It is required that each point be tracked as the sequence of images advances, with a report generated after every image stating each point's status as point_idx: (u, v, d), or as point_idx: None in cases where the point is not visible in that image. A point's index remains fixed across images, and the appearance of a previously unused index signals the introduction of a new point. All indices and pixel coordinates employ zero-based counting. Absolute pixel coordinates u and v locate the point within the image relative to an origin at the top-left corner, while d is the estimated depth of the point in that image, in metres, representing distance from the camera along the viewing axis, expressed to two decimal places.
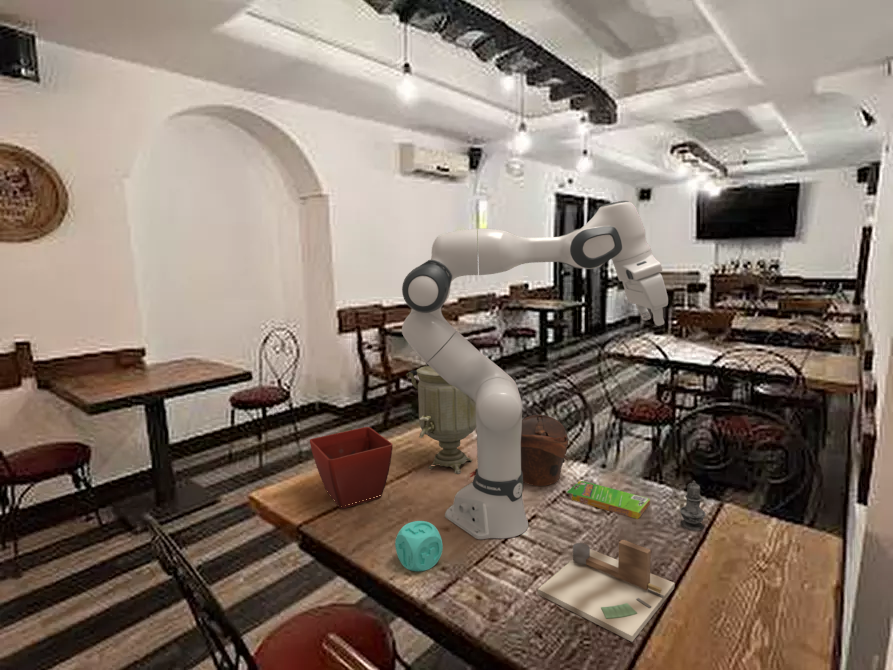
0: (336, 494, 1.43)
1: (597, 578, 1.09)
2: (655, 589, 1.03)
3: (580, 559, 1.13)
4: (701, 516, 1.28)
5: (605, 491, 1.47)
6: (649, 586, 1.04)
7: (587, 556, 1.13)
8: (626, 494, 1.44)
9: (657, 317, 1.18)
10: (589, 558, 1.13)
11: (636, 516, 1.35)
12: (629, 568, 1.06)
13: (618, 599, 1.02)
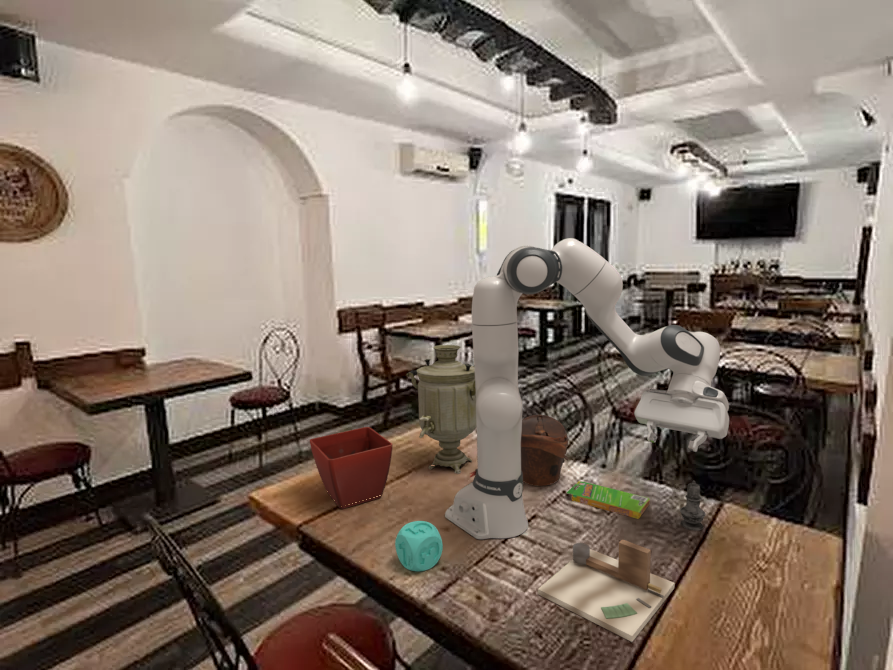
0: (336, 494, 1.43)
1: (597, 578, 1.09)
2: (655, 589, 1.03)
3: (580, 559, 1.13)
4: (701, 516, 1.28)
5: (605, 491, 1.47)
6: (649, 586, 1.04)
7: (587, 556, 1.13)
8: (626, 494, 1.44)
9: (698, 442, 1.15)
10: (589, 558, 1.13)
11: (637, 516, 1.35)
12: (629, 568, 1.06)
13: (618, 599, 1.02)
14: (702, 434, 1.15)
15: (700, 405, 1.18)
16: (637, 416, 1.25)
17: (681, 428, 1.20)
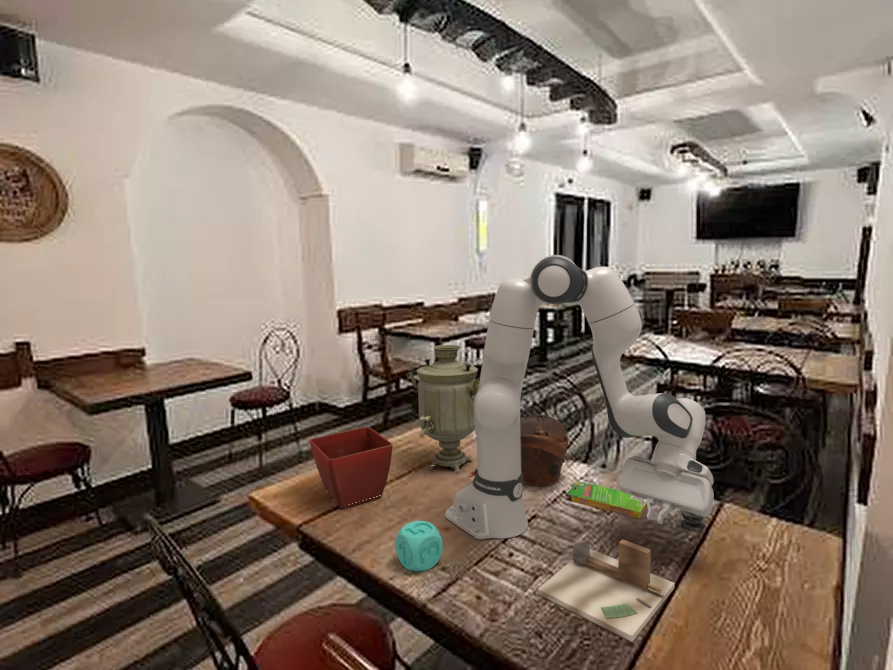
0: (336, 494, 1.43)
1: (597, 578, 1.09)
2: (655, 589, 1.03)
3: (580, 559, 1.13)
4: (701, 516, 1.28)
5: (605, 491, 1.46)
6: (649, 586, 1.04)
7: (587, 556, 1.13)
8: (625, 494, 1.44)
9: (663, 514, 1.14)
10: (589, 558, 1.13)
11: (637, 516, 1.35)
12: (629, 568, 1.06)
13: (618, 599, 1.02)
14: (667, 506, 1.14)
15: (684, 479, 1.14)
16: (620, 486, 1.21)
17: None
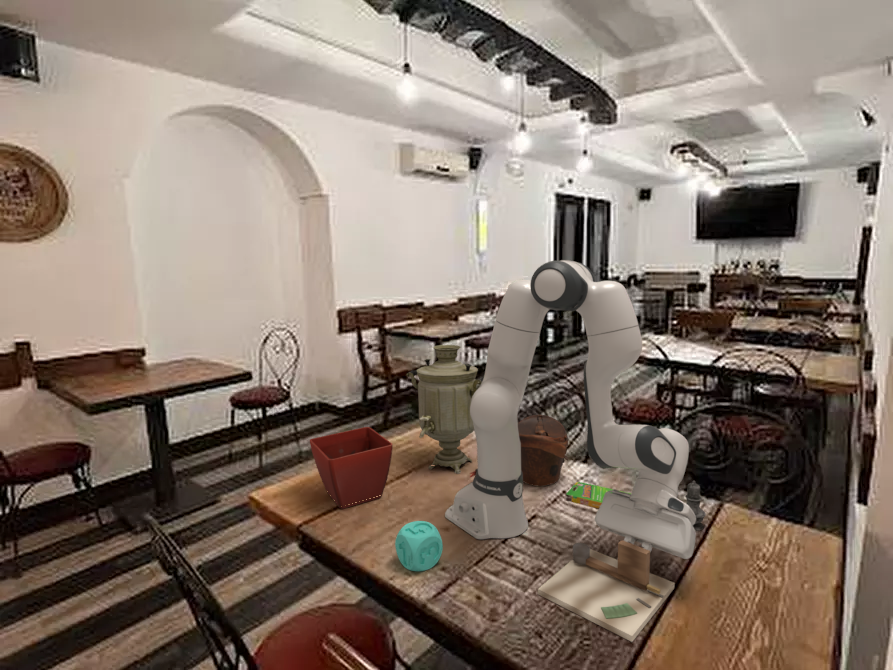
0: (336, 494, 1.43)
1: (597, 578, 1.09)
2: (654, 590, 1.03)
3: (580, 559, 1.13)
4: (701, 516, 1.28)
5: (604, 491, 1.46)
6: (648, 587, 1.04)
7: (587, 556, 1.13)
8: None
9: None
10: (589, 558, 1.13)
11: None
12: (628, 568, 1.06)
13: (618, 599, 1.02)
14: (646, 547, 1.07)
15: (664, 518, 1.07)
16: (597, 523, 1.14)
17: None
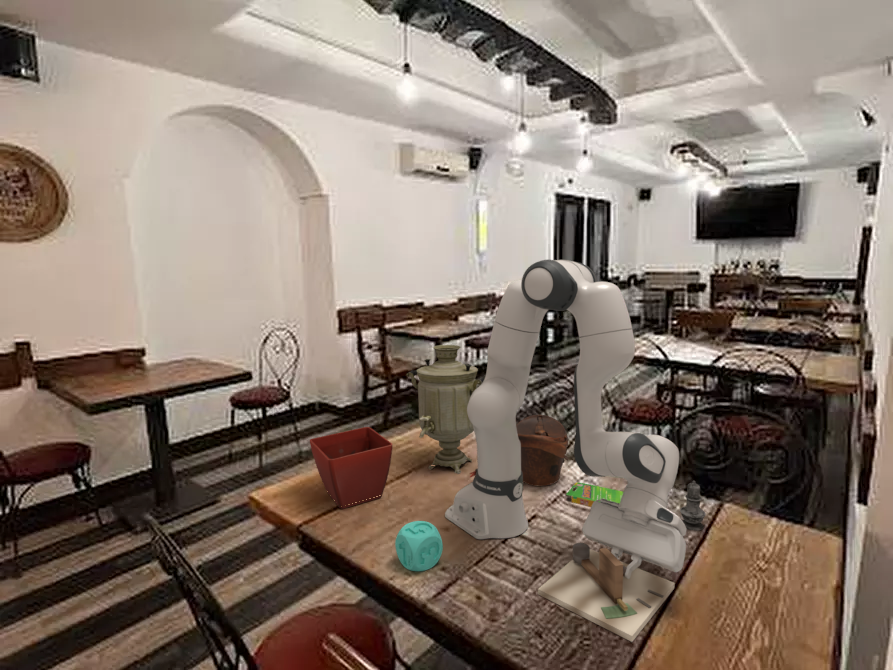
0: (336, 494, 1.43)
1: None
2: (621, 605, 0.99)
3: (576, 558, 1.14)
4: (701, 516, 1.28)
5: (604, 491, 1.46)
6: (618, 601, 1.00)
7: (583, 557, 1.13)
8: None
9: (632, 568, 1.03)
10: (585, 560, 1.13)
11: None
12: (605, 577, 1.03)
13: None
14: (636, 559, 1.03)
15: (653, 529, 1.03)
16: (585, 534, 1.10)
17: None
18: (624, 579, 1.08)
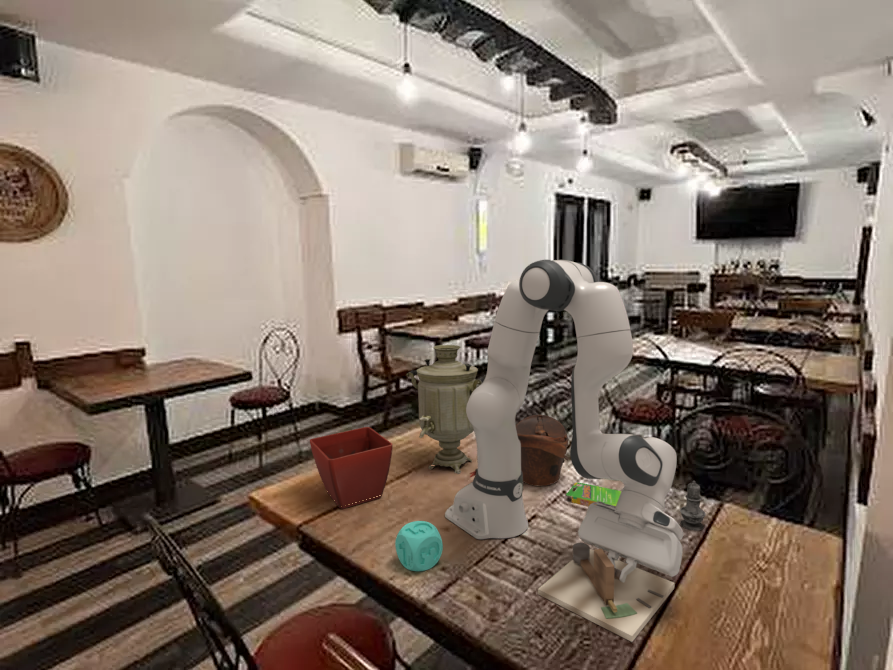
0: (336, 494, 1.43)
1: None
2: (611, 607, 0.98)
3: (575, 557, 1.14)
4: (701, 516, 1.28)
5: (604, 491, 1.46)
6: (608, 602, 1.00)
7: (582, 557, 1.13)
8: None
9: (626, 571, 1.02)
10: (584, 560, 1.13)
11: None
12: (598, 578, 1.03)
13: (618, 599, 1.02)
14: (631, 563, 1.01)
15: (650, 533, 1.02)
16: (580, 537, 1.09)
17: None
18: None
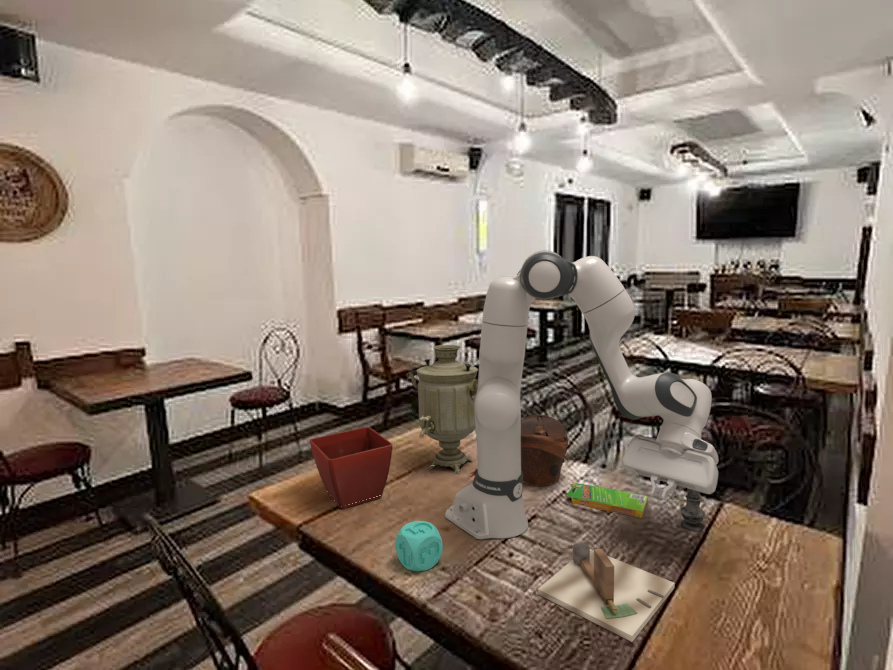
0: (336, 494, 1.43)
1: None
2: (611, 607, 0.98)
3: (575, 557, 1.14)
4: (701, 516, 1.28)
5: (603, 491, 1.46)
6: (608, 602, 1.00)
7: (582, 557, 1.13)
8: (624, 493, 1.45)
9: (668, 491, 1.15)
10: (584, 560, 1.13)
11: (640, 515, 1.35)
12: (598, 578, 1.03)
13: (618, 599, 1.02)
14: (671, 483, 1.14)
15: (689, 457, 1.15)
16: (625, 464, 1.22)
17: None
18: (624, 579, 1.08)
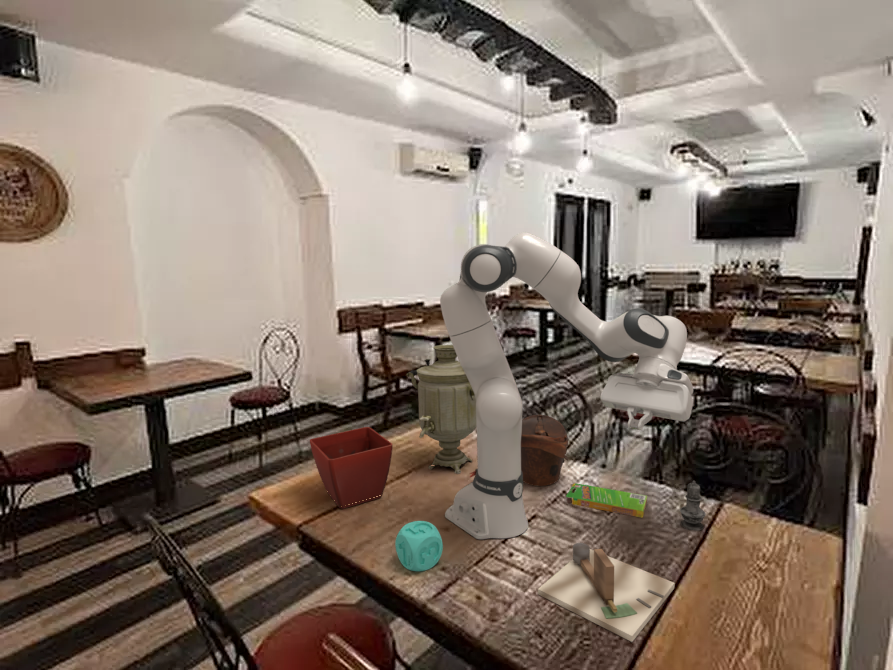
0: (336, 494, 1.43)
1: None
2: (611, 607, 0.98)
3: (575, 557, 1.14)
4: (701, 516, 1.28)
5: (603, 492, 1.46)
6: (608, 602, 1.00)
7: (582, 557, 1.13)
8: (623, 493, 1.45)
9: (644, 421, 1.17)
10: (584, 560, 1.13)
11: (641, 515, 1.35)
12: (598, 578, 1.03)
13: (618, 599, 1.02)
14: (647, 413, 1.17)
15: (664, 388, 1.17)
16: (602, 399, 1.24)
17: None
18: (624, 579, 1.08)
